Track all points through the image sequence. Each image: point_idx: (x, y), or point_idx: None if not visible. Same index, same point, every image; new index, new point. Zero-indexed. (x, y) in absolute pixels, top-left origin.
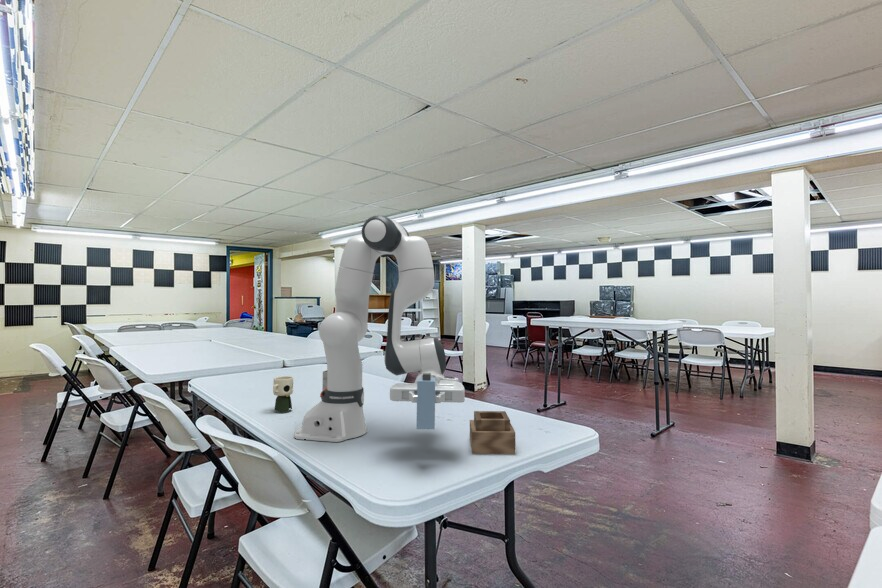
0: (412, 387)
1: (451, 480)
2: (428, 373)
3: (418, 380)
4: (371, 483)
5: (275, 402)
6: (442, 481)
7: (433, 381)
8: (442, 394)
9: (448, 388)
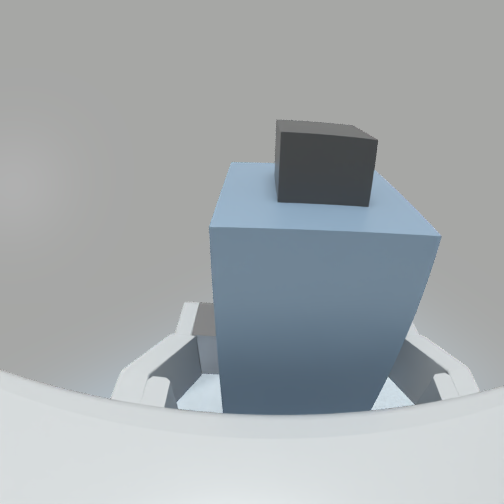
0: (492, 421)
1: (191, 406)
2: (306, 129)
3: (377, 178)
4: (391, 389)
5: None
6: (216, 403)
7: (245, 162)
8: (155, 346)
9: (51, 407)
